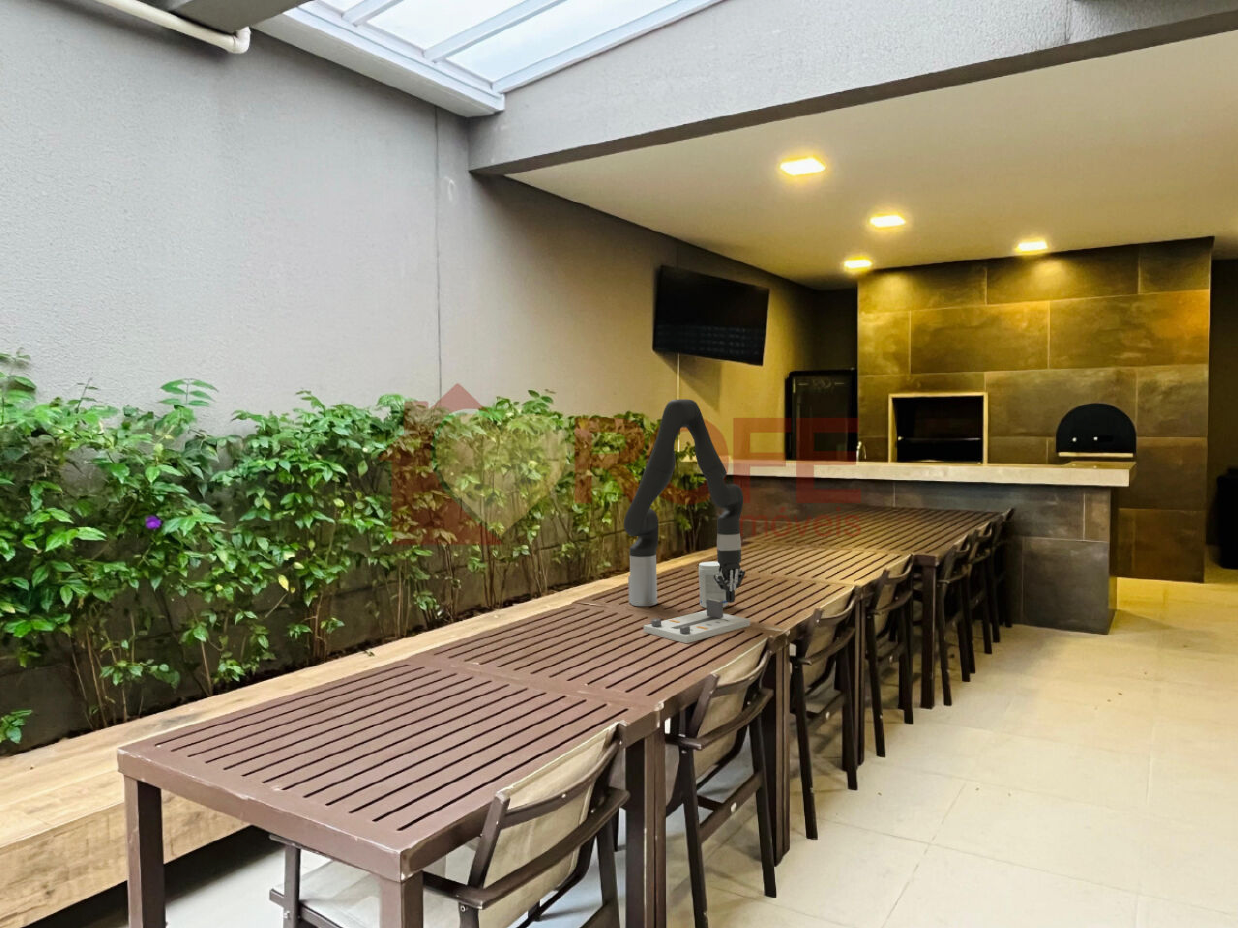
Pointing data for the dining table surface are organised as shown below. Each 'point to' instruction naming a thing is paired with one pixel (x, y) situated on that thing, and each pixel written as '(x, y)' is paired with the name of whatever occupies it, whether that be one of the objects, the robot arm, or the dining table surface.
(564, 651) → the dining table surface
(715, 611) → the fader tab
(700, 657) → the dining table surface
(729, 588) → the robot arm
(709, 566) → the supplement tub
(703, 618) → the console board
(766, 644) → the dining table surface
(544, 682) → the dining table surface
